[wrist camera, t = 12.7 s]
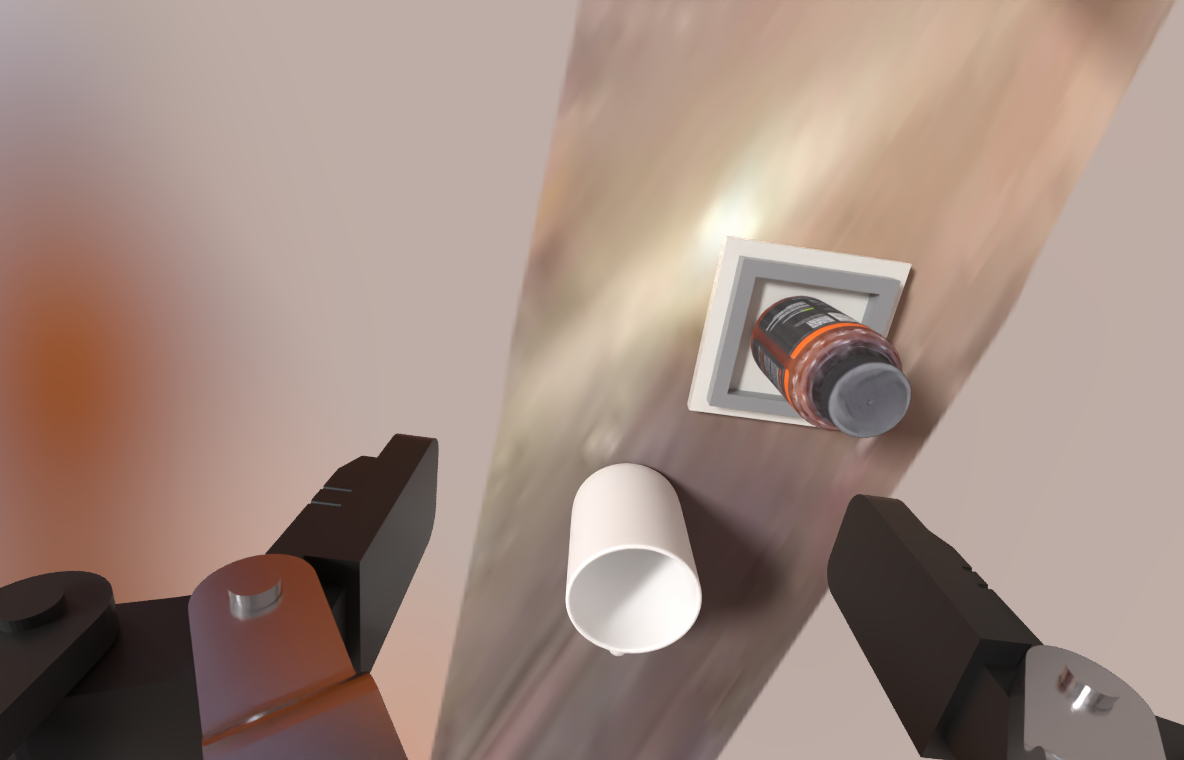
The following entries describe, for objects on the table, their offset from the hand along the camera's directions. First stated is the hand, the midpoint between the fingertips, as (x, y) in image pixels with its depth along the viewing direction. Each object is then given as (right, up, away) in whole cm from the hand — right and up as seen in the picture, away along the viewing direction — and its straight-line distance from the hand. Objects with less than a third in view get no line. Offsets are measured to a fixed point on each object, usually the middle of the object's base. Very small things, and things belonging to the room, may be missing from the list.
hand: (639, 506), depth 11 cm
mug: (+1, -9, +34) cm, 35 cm away
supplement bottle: (+13, +5, +27) cm, 30 cm away
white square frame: (+13, +5, +28) cm, 31 cm away
